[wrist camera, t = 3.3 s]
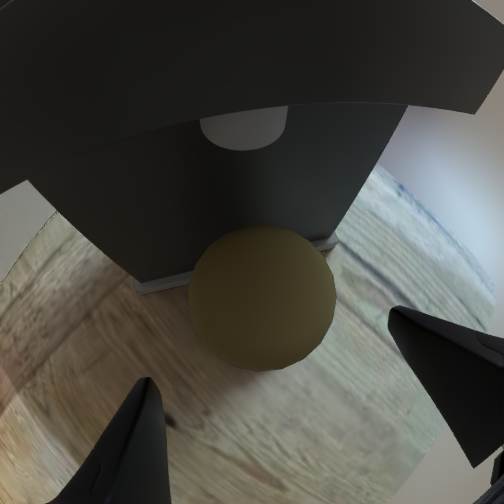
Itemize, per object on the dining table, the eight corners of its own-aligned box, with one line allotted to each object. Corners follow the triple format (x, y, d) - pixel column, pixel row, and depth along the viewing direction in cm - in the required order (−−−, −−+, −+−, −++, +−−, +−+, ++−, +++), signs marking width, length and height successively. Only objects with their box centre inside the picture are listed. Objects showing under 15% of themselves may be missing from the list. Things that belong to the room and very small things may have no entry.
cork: (315, 320, 18) (392, 273, 8) (258, 387, 17) (277, 428, 6) (249, 266, 20) (254, 168, 10) (191, 328, 18) (126, 291, 8)
